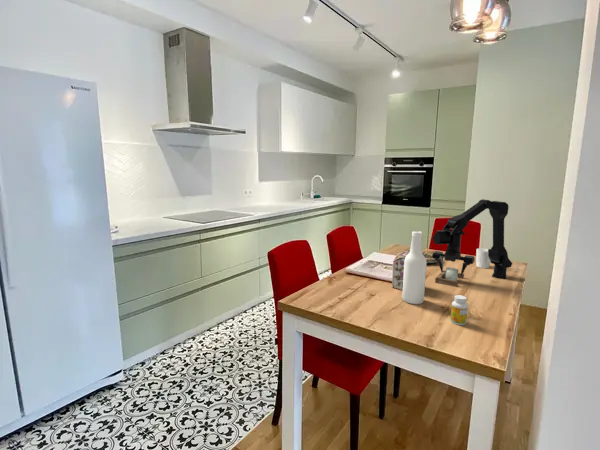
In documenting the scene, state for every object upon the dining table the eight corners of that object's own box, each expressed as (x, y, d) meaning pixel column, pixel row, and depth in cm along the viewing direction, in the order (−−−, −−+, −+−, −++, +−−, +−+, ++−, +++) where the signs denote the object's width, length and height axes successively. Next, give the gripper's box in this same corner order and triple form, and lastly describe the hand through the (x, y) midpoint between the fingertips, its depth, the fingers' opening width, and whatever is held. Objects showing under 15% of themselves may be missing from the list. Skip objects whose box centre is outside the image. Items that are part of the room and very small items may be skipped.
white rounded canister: (446, 278, 173) (447, 266, 172) (458, 280, 170) (459, 268, 169) (443, 280, 169) (444, 269, 168) (455, 283, 165) (456, 271, 164)
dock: (443, 274, 179) (443, 270, 179) (463, 277, 173) (464, 273, 173) (435, 282, 166) (435, 278, 166) (456, 286, 160) (457, 282, 160)
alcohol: (413, 306, 137) (417, 234, 132) (397, 299, 145) (401, 230, 140) (428, 302, 141) (433, 232, 136) (412, 295, 149) (416, 229, 144)
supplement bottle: (447, 319, 126) (449, 294, 124) (461, 318, 126) (463, 294, 125) (455, 325, 121) (457, 300, 119) (469, 325, 121) (472, 299, 119)
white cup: (492, 269, 189) (494, 251, 187) (477, 268, 190) (478, 251, 189) (487, 265, 196) (489, 248, 195) (473, 264, 198) (474, 247, 196)
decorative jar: (425, 287, 159) (428, 250, 156) (415, 294, 151) (417, 255, 148) (402, 281, 167) (404, 246, 164) (390, 287, 159) (392, 250, 156)
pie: (406, 253, 224) (407, 246, 223) (450, 260, 208) (450, 253, 207) (391, 263, 201) (391, 255, 200) (438, 272, 186) (439, 263, 185)
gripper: (430, 243, 165) (427, 274, 168) (471, 249, 154) (468, 281, 157) (436, 240, 174) (434, 269, 177) (476, 245, 163) (473, 275, 166)
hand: (451, 273), depth 169 cm, fingers open, 9 cm apart
